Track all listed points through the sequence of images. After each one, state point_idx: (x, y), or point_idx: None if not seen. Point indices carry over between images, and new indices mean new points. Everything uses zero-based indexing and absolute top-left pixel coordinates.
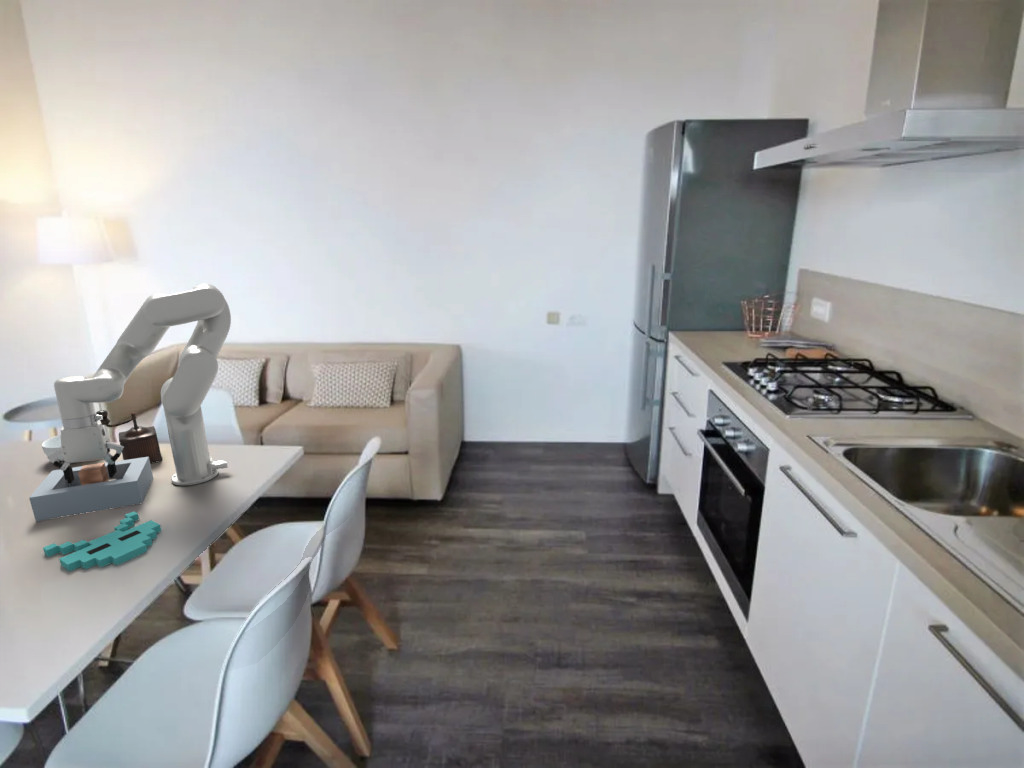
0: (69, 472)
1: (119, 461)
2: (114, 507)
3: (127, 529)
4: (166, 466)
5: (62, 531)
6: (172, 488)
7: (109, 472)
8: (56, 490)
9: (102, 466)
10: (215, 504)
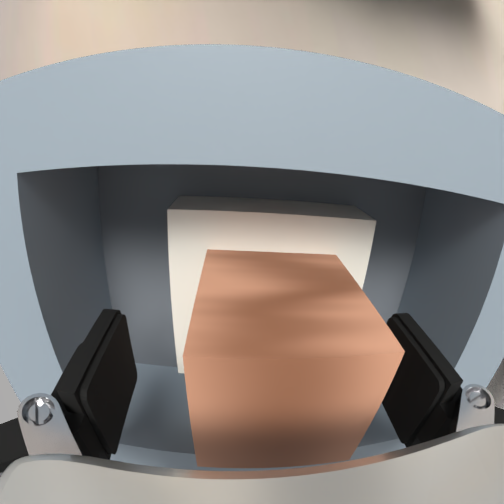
0: (116, 430)
1: (457, 110)
2: None
3: None
4: (496, 37)
5: None
6: None
7: (387, 404)
8: (122, 452)
9: (372, 409)
10: (495, 405)
